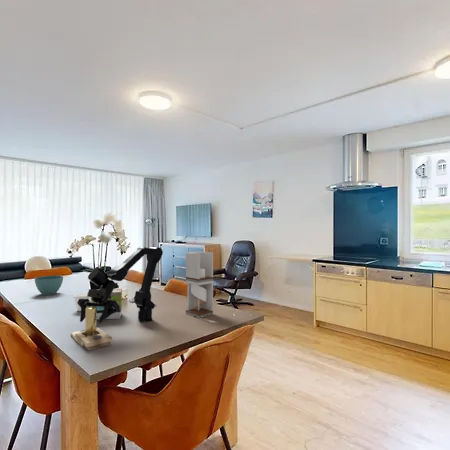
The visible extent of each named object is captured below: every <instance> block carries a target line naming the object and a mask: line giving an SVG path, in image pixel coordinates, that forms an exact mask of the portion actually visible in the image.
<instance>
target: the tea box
mask: <svg viewBox="0 0 450 450" xmlns="http://www.w3.org/2000/svg"><path fill="white" fill-rule="evenodd" d="M96 290H100V288H99V289H96ZM109 300H116V302H117V303H118V304H119V306H120V309H119V311H118V312H115V313H113V314H112V315H110V316H109V317H107V318H106V319H105V320H113V319H114V320H115V319H116V320H117V319H118V320H119V319H121V315H122V309H123V308H122V306H123V304H122V302H123V289H122V288H116V289H113V291H112V294H111V299H109ZM91 302H93V300H91ZM92 307H93V306H92ZM103 311H104V307H97V320H98V321H99V319H100V317H101V315H102V313H103Z"/></svg>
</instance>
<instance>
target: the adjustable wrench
mask: <svg viewBox="0 0 450 450" xmlns="http://www.w3.org/2000/svg"><path fill="white" fill-rule="evenodd" d="M128 302H129V303H130V304H131V303H135V302H134V297H132V298H131V299H128ZM154 304H155V307H157V304H156V303H154Z"/></svg>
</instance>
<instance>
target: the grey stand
mask: <svg viewBox="0 0 450 450" xmlns="http://www.w3.org/2000/svg"><path fill="white" fill-rule="evenodd" d="M185 283H186V284H187V297H186V298H187V301H186V302H187V308H186V309H185V314H186V313H187V314H186V315H188V314H190V315H189V316H191V315H193V316H192V317H194V316H196V317H195V318H197V317H200V318H203V317H202V316H204V317H208V316H211V314H212V315H214V252H210V251H209V252H208V251H190V252H188V251H187V252H185ZM207 315H208V316H207Z"/></svg>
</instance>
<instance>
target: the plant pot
mask: <svg viewBox="0 0 450 450" xmlns="http://www.w3.org/2000/svg"><path fill="white" fill-rule="evenodd" d="M63 280H64V276H63V275H47V276H46V275H45V276H40V277H39V276H38V277H35V278H34V283H35V284H34V285H35V287H36V289H37V290H38V292H39V293H40V294H41V295H43V296H52V295H55V294H57V292H58V291H60V288H61V287H62V284H63Z"/></svg>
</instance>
